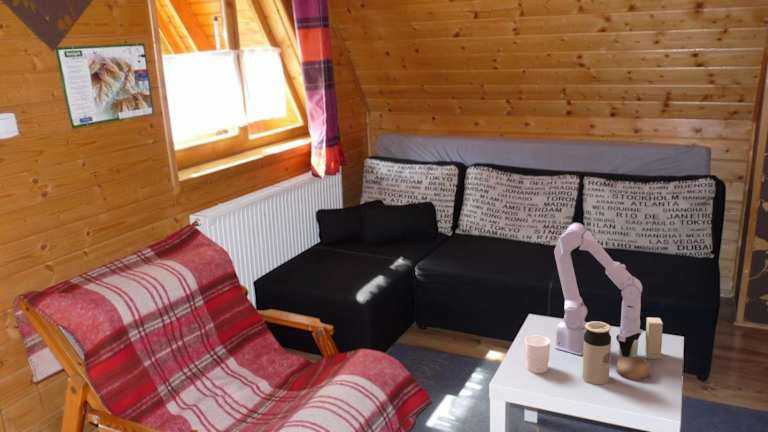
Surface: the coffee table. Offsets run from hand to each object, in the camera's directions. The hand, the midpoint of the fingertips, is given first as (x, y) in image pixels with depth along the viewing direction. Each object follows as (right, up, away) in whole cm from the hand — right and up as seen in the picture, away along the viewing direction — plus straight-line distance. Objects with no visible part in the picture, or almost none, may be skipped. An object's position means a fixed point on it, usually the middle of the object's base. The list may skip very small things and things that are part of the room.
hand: (628, 353), depth 213 cm
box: (+9, -1, +1) cm, 9 cm away
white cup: (-31, -4, -4) cm, 32 cm away
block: (0, -2, 0) cm, 2 cm away
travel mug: (-15, -6, -12) cm, 20 cm away
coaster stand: (-2, -4, -9) cm, 10 cm away
